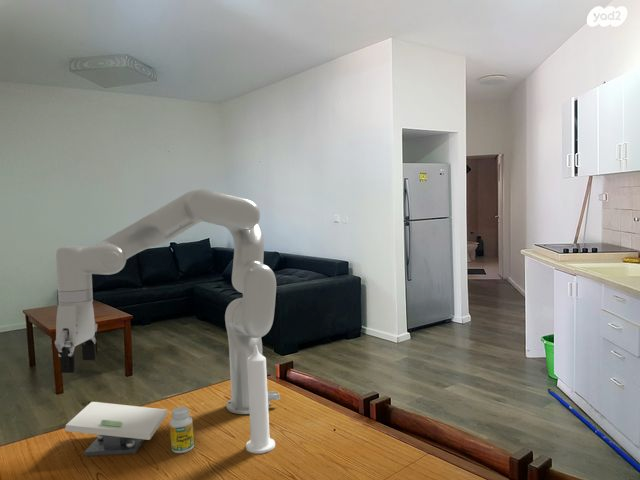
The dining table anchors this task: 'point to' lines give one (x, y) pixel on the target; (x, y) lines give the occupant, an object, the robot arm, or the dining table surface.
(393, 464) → the dining table surface
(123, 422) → the level board
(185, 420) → the supplement bottle
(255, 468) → the dining table surface
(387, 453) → the dining table surface
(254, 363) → the candle
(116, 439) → the tribrach base
